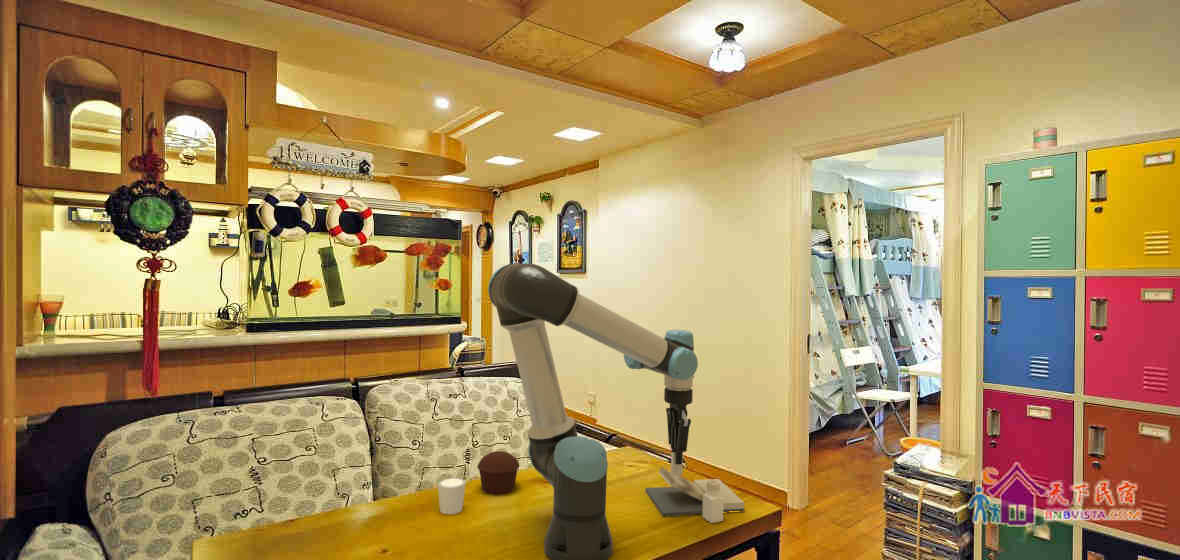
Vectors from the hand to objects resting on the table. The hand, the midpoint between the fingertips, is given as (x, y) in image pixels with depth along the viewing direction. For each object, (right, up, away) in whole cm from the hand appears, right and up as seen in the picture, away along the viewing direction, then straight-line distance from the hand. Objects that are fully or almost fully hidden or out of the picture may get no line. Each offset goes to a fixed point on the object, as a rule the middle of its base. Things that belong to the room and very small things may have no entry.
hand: (676, 474), depth 146 cm
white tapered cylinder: (-59, -6, -8) cm, 60 cm away
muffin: (-49, -6, +6) cm, 50 cm away
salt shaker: (+8, -8, -10) cm, 15 cm away
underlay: (+5, -8, +1) cm, 9 cm away
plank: (+2, -4, 0) cm, 4 cm away
